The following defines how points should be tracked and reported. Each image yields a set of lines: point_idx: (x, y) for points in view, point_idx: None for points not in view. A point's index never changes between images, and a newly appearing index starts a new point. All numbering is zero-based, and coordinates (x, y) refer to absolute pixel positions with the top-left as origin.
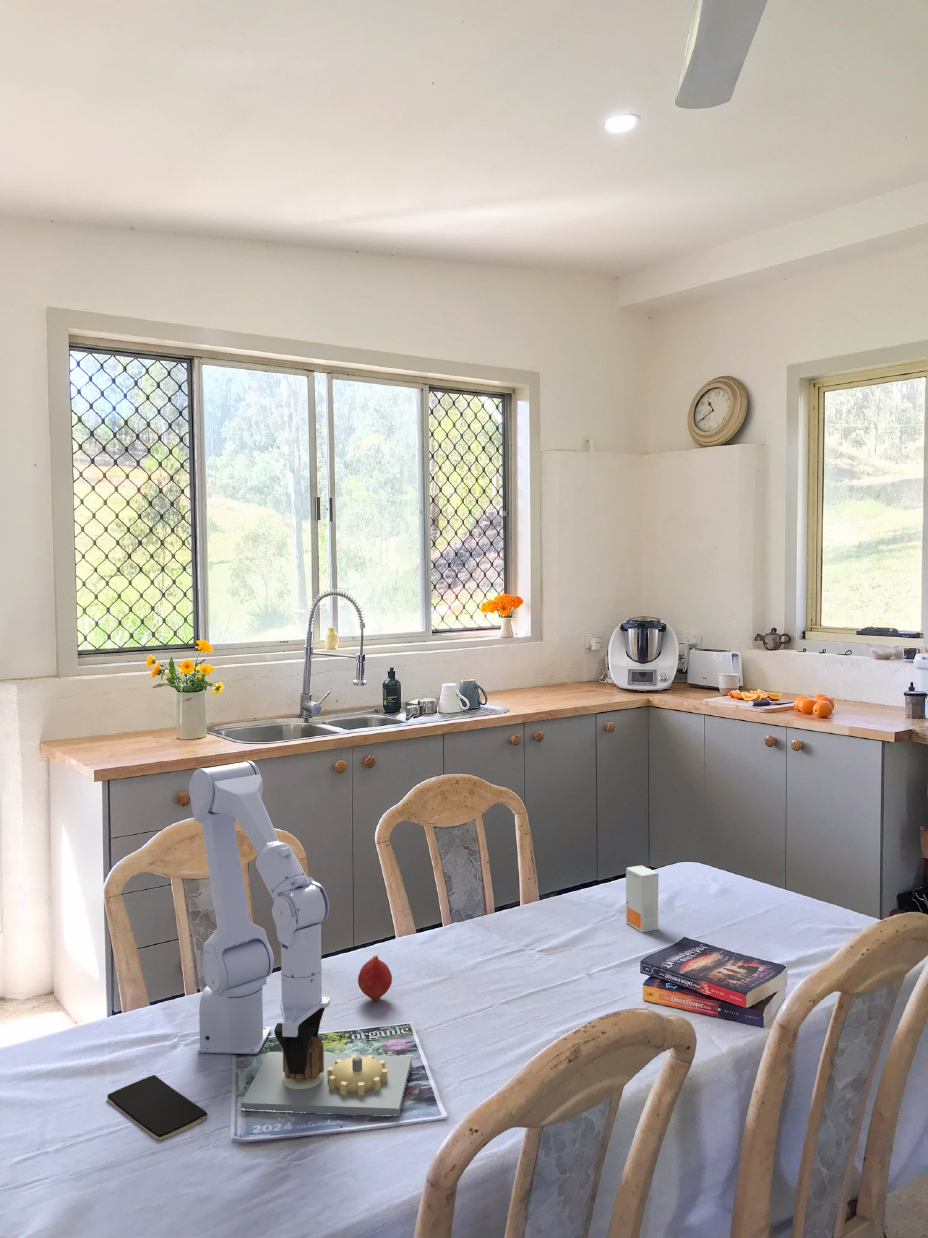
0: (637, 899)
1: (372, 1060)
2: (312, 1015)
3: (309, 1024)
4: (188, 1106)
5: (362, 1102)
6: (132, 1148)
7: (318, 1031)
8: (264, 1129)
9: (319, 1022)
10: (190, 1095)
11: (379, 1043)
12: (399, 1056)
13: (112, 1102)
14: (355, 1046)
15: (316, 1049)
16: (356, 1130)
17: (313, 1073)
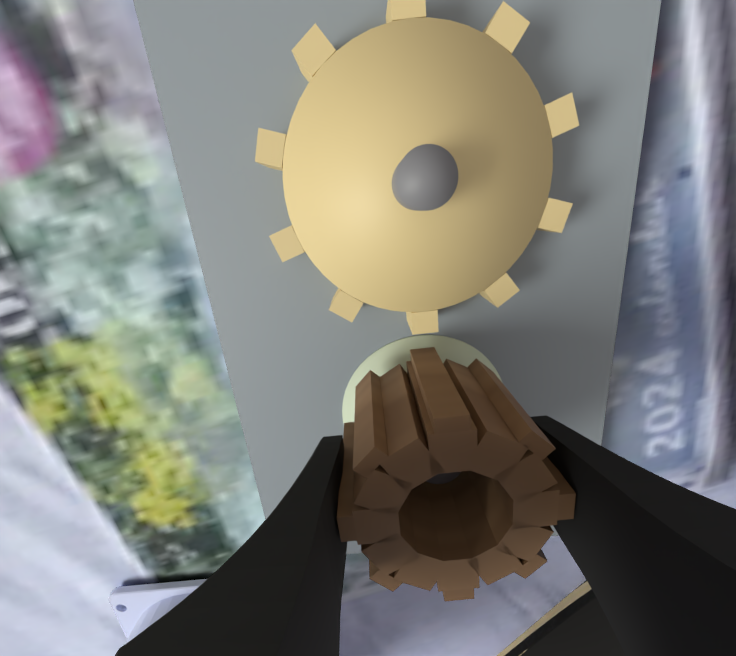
0: None
1: (310, 118)
2: (314, 648)
3: (326, 583)
4: (577, 628)
5: (607, 99)
6: None
7: (295, 490)
8: (671, 423)
9: (312, 544)
10: (494, 633)
11: (17, 195)
12: (138, 4)
13: None
14: (90, 295)
15: (503, 435)
16: (722, 96)
17: (498, 379)
